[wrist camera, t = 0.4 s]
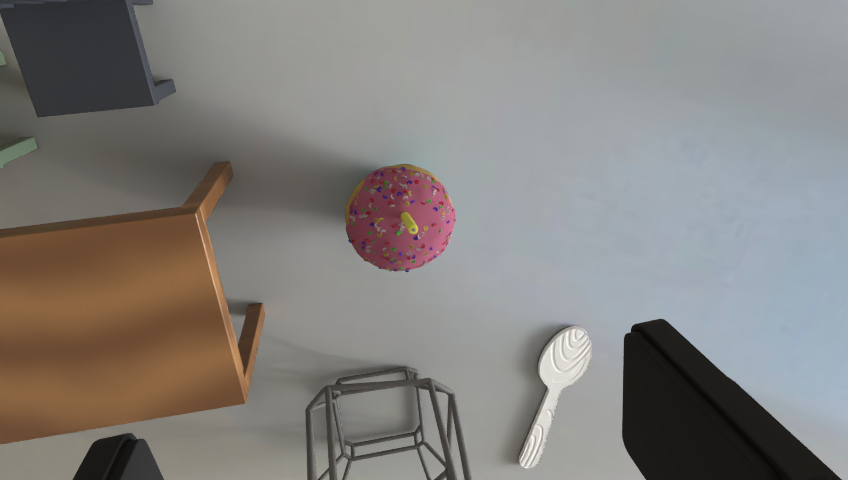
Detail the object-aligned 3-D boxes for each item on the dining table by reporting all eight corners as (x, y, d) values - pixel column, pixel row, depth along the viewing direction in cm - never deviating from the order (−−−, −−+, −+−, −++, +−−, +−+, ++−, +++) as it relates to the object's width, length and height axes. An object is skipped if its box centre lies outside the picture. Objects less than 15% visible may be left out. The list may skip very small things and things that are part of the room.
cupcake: (340, 153, 43) (344, 201, 33) (444, 148, 45) (481, 192, 34) (347, 251, 47) (352, 323, 36) (443, 243, 48) (477, 312, 37)
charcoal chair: (41, -4, 36) (-96, -11, 24) (151, -12, 37) (69, -23, 25) (77, 103, 39) (-31, 142, 27) (178, 92, 40) (115, 126, 28)
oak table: (-77, 196, 40) (-230, 266, 29) (230, 161, 42) (195, 212, 31) (-2, 354, 45) (-107, 462, 34) (265, 314, 48) (246, 403, 37)
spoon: (503, 464, 59) (505, 468, 59) (551, 323, 53) (553, 326, 53) (548, 466, 61) (549, 470, 60) (600, 328, 54) (602, 331, 54)
